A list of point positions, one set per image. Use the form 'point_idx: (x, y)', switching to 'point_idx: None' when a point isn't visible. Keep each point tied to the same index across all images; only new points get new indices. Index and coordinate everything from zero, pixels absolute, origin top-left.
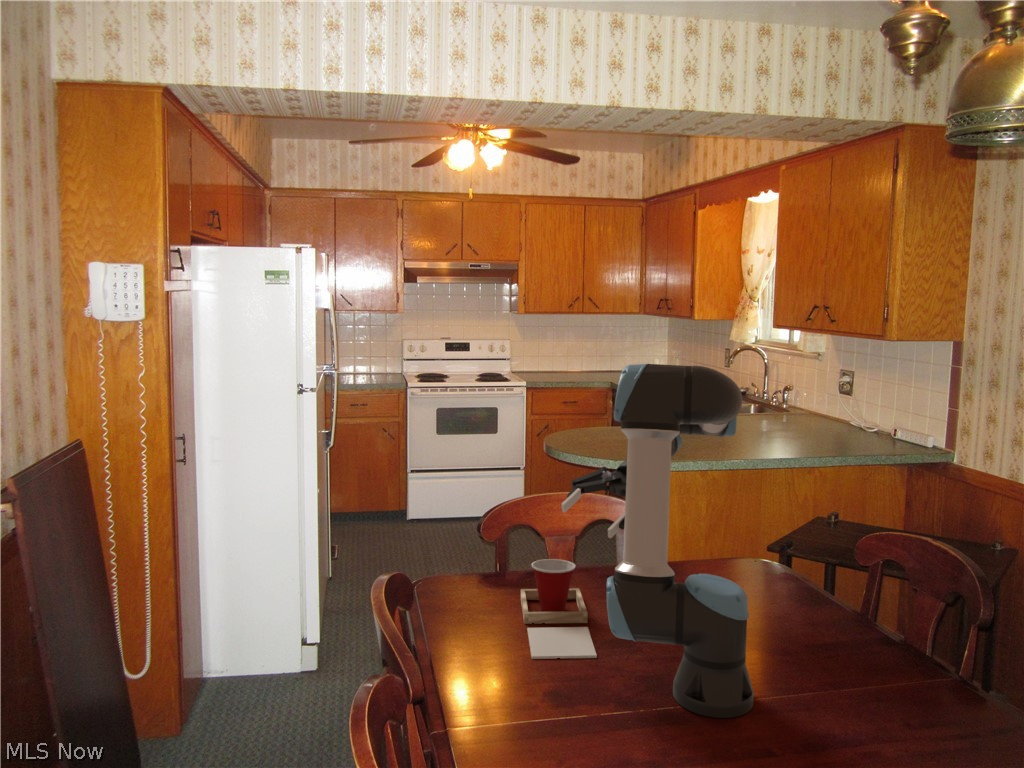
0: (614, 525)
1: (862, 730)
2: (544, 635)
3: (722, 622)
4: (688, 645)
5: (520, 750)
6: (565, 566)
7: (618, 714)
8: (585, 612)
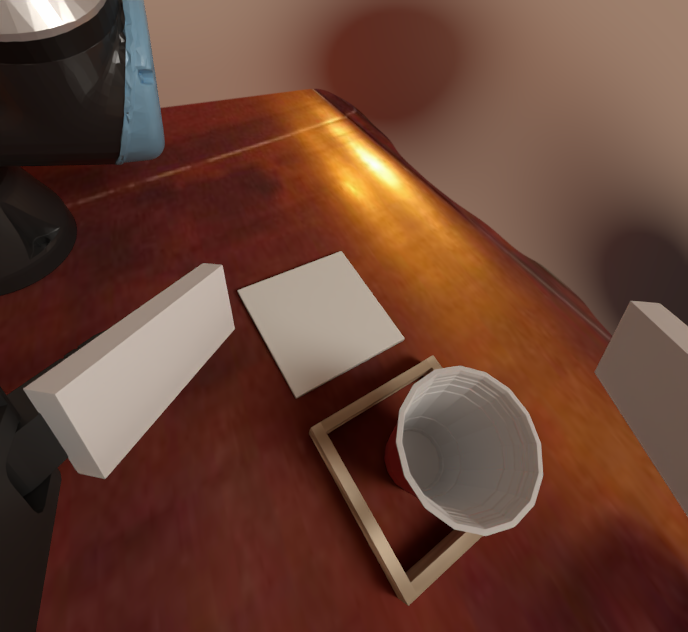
0: (175, 287)
1: None
2: (359, 322)
3: None
4: None
5: (260, 104)
6: (454, 514)
7: (165, 170)
8: (316, 427)
